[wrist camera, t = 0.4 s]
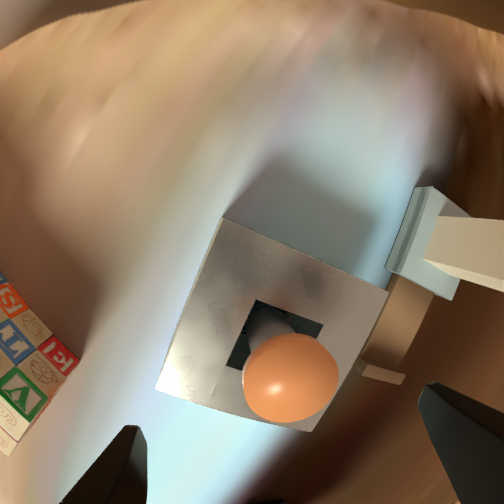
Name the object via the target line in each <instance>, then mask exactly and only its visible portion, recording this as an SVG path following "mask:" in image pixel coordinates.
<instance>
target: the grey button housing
mask: <svg viewBox="0 0 504 504" xmlns="http://www.w3.org/2000/svg"><path fill="white" fill-rule="evenodd" d="M388 294H389V292H387V291H385V290H383V289H381V288H379V287H377V286H375V285H373V284H371V283H368V282H366V281H364V280H362V279H360V278H358V277H356V276H354V275H352V274H349V273H347V272H345V271H343V270H341V269H339V268H336V267H334V266H332V265H330V264H327V263H325V262H323V261H321V260H318V259H316V258H314V257H312V256H310V255H307V254H305V253H303V252H301V251H298V250H296V249H294V248H291V247H289V246H287V245H285V244H282V243H280V242H278V241H276V240H273V239H271V238H269V237H266V236H264V235H262V234H260V233H257V232H255V231H253V230H250V229H248V228H246V227H243V226H241V225H239V224H236V223H234V222H232V221H229V220H227V219H225V218H222V217H221V219H220V221H219V224H218V226H217V228H216V231H215V233H214V235H213V238H212V240H211V242H210V245H209V247H208V250H207V252H206V254H205V257H204V259H203V262H202V264H201V266H200V269H199V271H198V274H197V276H196V279H195V281H194V284H193V286H192V289H191V291H190V294H189V296H188V299H187V301H186V304H185V306H184V309H183V311H182V314H181V316H180V319H179V321H178V324H177V327H176V329H175V332H174V334H173V337H172V340H171V342H170V345H169V348H168V351H167V354H166V357H165V360H164V363H163V367H162V370H161V373H160V376H159V379H158V383H157V386H156V389H157V390H160V391H163V392H165V393H168V394H171V395H174V396H176V397H179V398H182V399H185V400H188V401H191V402H194V403H197V404H200V405H203V406H206V407H209V408H213V409H216V410H219V411H223V412H226V413H230V414H233V415H237V416H240V417H244V418H248V419H252V420H256V421H260V422H264V423H269V424H273V425H278V426H282V427H287V428H292V429H297V430H302V431H308V432H312V430H313V429H314V427H315V426H316V424H317V423H318V421H319V420H320V418H321V417H322V415H323V414H324V412H325V410H326V409H327V407H328V406H329V404H330V403H331V401H332V399H333V398H334V396H335V394H336V393H337V391H338V390H339V388H340V386H341V384H342V383H343V381H344V379H345V378H346V376H347V374H348V372H349V371H350V369H351V367H352V365H353V364H354V362H355V360H356V358H357V356H358V354H359V353H360V351H361V349H362V347H363V345H364V343H365V341H366V339H367V337H368V335H369V334H370V332H371V330H372V328H373V326H374V324H375V322H376V320H377V317H378V315H379V313H380V311H381V309H382V307H383V305H384V303H385V301H386V298H387V296H388ZM256 299H257V300H259V301H262V302H264V303H267V304H269V305H272V306H275V307H277V308H280V309H283V310H285V311H288V314H287V316H286V319H287V320H288V322H289V323H290V325H291V326H292V328H293V329H294V331H295V332H296V333H299V334H304V335H308V336H311V337H313V338H315V339H316V340H318V341H319V342H320V343H322V344H323V346H324V347H325V348H326V349H327V350H328V352H329V353H330V354H331V355H332V357H333V358H334V360H335V361H336V364H337V366H338V370H339V381H338V385H337V388H336V391H335V393H334V395H333V396H332V398H331V399H330V401H329V402H328V403H327V404H326V405H325V406H324V407H323V408H322V409H321V410H319V411H318V412H317V413H315V414H313V415H312V416H310V417H308V418H305V419H302V420H299V421H295V422H288V423H280V422H273V421H269V420H266V419H264V418H262V417H260V416H258V415H257V414H256V413H255V412H253V410H252V409H251V408H250V407H249V405H248V403H247V401H246V399H245V394H244V389H243V383H242V371H243V367H244V364H245V362H246V360H247V358H248V357H249V355H250V354H251V351H250V347H249V343H248V339H247V335H246V334H243V333H240V332H241V330H242V328H243V326H244V324H245V322H246V319H247V317H248V315H249V313H250V311H251V308H252V306H253V304H254V302H255V300H256Z"/></svg>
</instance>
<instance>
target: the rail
mask: <svg viewBox="0 0 504 504" xmlns="http://www.w3.org/2000/svg"><path fill="white" fill-rule="evenodd" d="M385 291H387V292H389V294H388V296H387V298H386V301H385V303H384V305H383V307H382V309H381V311H380V313H379V315H378V317H377V320H376V322H375V324H374V326H373V328H372V330H371V332H370V334H369V335H368V337H367V339H366V341H365V343H364V345H363V347H362V349H361V351H360V353H359V354H358V356H357V358H356V360H355V362H354V364H353V367H354V368H355V369H356V370H357V371H358V372H359V373H360V374H361V375H362V376H366V377H370V378H374V379H378V380H382V381H386V382H390V383H394V384H398V385H401V383H402V381H403V379H404V378H405V376H406V374H405V373H404V372H403V371H401V370H400V369H399V368H398V367H399V365H400V363H401V361H402V360H403V358H404V356H405V354H406V352H407V350H408V348H409V346H410V345H411V343H412V341H413V339H414V337H415V335H416V333H417V331H418V329H419V327H420V324H421V322H422V320H423V318H424V316H425V314H426V312H427V309H428V307H429V305H430V303H431V300H432V298H433V296H434V293H433V292H432V291H430V290H428V289H426V288H424V287H422V286H420V285H418V284H416V283H414V282H412V281H411V280H409V279H407V278H405V277H403V276H401V275H399V274H396V273H394V272H393V273H392V276H391V278H390V280H389V283H388V285H387V287H386V289H385Z"/></svg>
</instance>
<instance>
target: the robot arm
mask: <svg viewBox="0 0 504 504" xmlns="http://www.w3.org/2000/svg"><path fill="white" fill-rule="evenodd" d="M418 408H419V410H420V413H421V415H422V418H423V421H424V423H425V426H426V429H427V431H428V434H429V437H430V439H431V441H432V444H433V446H434V448H435V450H436V452H437V454H438V456H439V458H440V460H441V462H442V464H443V466H444V468H445V470H446V472H447V475H448V477H449V479H450V481H451V483H452V485H453V488H454V490H455V492H456V494H457V496H458V499H459V501H460V503H461V504H504V413H502V412H500V411H498V410H496V409H494V408H491V407H489V406H487V405H485V404H483V403H481V402H479V401H476V400H474V399H472V398H470V397H468V396H466V395H464V394H462V393H459V392H457V391H455V390H453V389H451V388H449V387H447V386H445V385H443V384H441V383H439V382H431V383H428V384H426V385H425V386H424V388H423V390H422V393H421V395H420V397H419V400H418ZM146 500H147V442H146V440H145V438H144V435H143V433H142V431H141V429H140V427H139V426H137V425H126V426H124V427H123V428H122V430H121V431H120V432H119V433H118V434H117V436H116V437H115V438H114V439H113V440H112V442H111V443H110V444H109V445H108V446H107V448H106V449H105V450H104V451H103V452H102V454H101V455H100V456H99V457H98V458H97V459H96V461H95V462H94V463H93V464H92V465H91V467H90V468H89V469H88V470H87V471H86V472H85V474H84V475H83V476H82V477H81V478H80V480H79V481H78V482H77V483H76V484H75V485H74V487H73V488H72V489H71V490H70V491H69V492H68V494H67V495H66V496H65V497H64V498H63V500H62V502H60V503H59V504H146ZM264 504H285V501H284V500H278V501H273V502H268V503H264Z"/></svg>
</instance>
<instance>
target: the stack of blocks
mask: <svg viewBox="0 0 504 504" xmlns="http://www.w3.org/2000/svg"><path fill="white" fill-rule="evenodd" d="M79 362H80V360H79V359H78V358H76V357H75V356H74V355H73V354H72V353H71V352H70V351H69V350H68V349H67V348H66V347H65V346H64V345H63V344H62V343H61V342H60V341H59V340H57V338H56V337H54V336H53V333H52V332H51V331H50V330H49V329H48V328H47V327H46V325H45V324H44V323H43V322H42V321H41V320H40V319H39V318H38V317H37V316H36V314H35V313H34V312H33V311H32V310H30V309H29V307H28V306H27V304H26V303H25V302H24V301H23V299H22V298H21V297H20V296H19V294H18V293H17V292H16V291H15V289H14V288H13V287H12V286H11V284H10V283H8V282H7V280H6V279H5V278H4V276H3V275H2V274H1V272H0V450H1V451H2V452H3V453H4V454H5V455H6V456H8V457H9V456H10V455H11V453H12V452H13V451H14V449H15V448H16V447H17V445H18V444H19V443H20V441H21V440H22V439H23V437H24V436H25V435H26V434H27V432H28V431H29V430H30V428H31V427H32V426H33V424H34V423H35V422H36V420H37V419H38V418H39V416H40V415H41V414H42V412H43V411H44V410H45V408H46V407H47V406H48V405H49V403H50V402H51V400H52V398H53V397H54V396H55V394H56V393H57V392H58V390H59V389H60V388H61V386H62V385H63V384H64V383H65V381H66V380H67V379H68V378H69V376H70V375H71V374H72V372H73V371H74V370H75V368H76V367H77V366H78V364H79Z"/></svg>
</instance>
